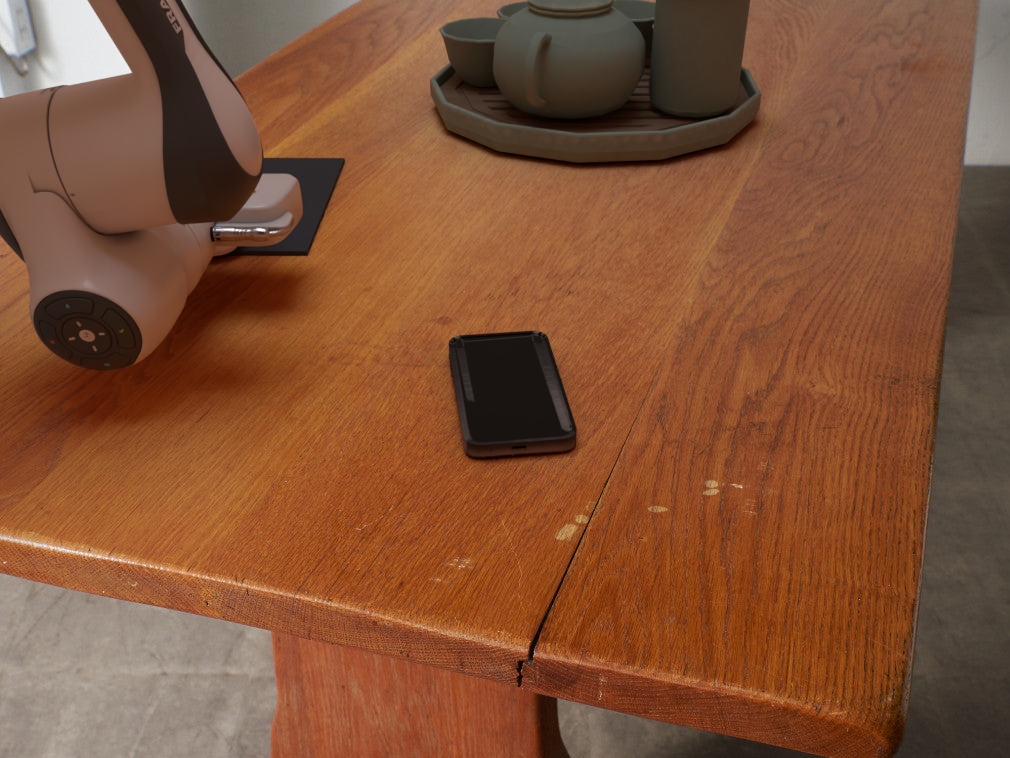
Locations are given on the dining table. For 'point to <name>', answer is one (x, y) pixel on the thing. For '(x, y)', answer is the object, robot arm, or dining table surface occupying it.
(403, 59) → the dining table surface
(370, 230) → the dining table surface
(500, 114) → the tea set
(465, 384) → the phone
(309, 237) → the mat
